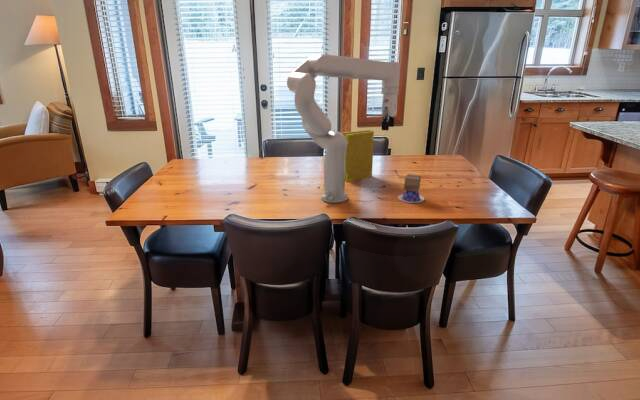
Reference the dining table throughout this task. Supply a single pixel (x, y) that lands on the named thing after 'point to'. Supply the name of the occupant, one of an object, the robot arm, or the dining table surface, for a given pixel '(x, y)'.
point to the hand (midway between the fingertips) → (387, 128)
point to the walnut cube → (412, 182)
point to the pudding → (411, 197)
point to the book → (358, 155)
